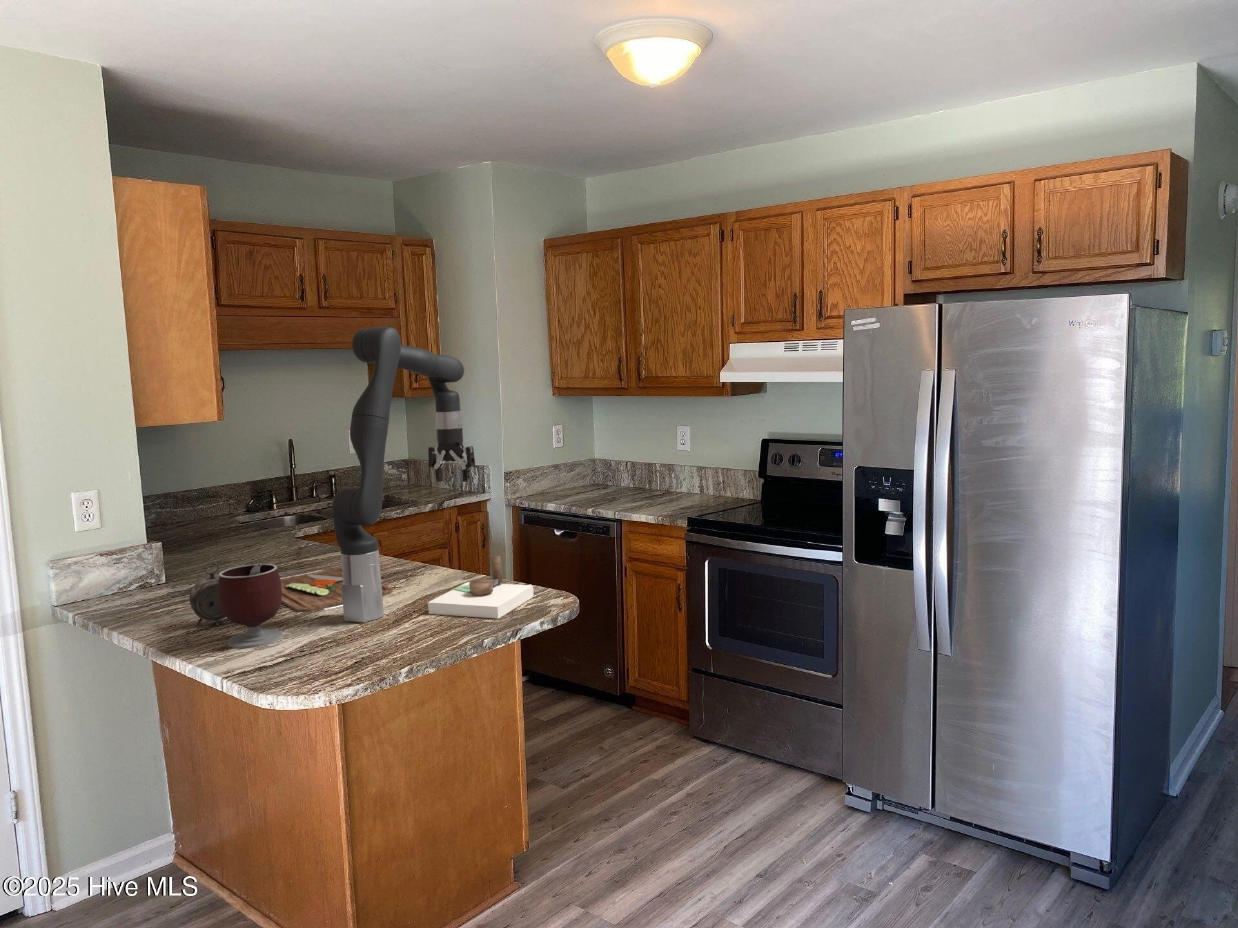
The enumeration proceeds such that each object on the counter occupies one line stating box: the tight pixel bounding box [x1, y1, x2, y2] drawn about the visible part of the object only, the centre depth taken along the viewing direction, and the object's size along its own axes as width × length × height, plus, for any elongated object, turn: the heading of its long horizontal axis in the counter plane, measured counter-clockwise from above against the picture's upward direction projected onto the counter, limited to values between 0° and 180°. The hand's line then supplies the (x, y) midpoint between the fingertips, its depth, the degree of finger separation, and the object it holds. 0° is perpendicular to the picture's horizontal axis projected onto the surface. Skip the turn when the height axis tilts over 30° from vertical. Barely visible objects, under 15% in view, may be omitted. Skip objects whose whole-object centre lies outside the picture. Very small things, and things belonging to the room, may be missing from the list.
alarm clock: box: [189, 561, 227, 627], centre depth 231 cm, size 11×5×16 cm, turn 123°
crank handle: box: [469, 555, 503, 595], centre depth 240 cm, size 13×6×7 cm, turn 159°
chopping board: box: [280, 567, 393, 613], centre depth 261 cm, size 45×27×3 cm, turn 38°
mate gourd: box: [218, 563, 284, 649], centre depth 215 cm, size 16×14×20 cm
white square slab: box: [427, 581, 534, 619], centre depth 237 cm, size 20×20×3 cm
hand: (452, 481), depth 267 cm, fingers open, 8 cm apart
